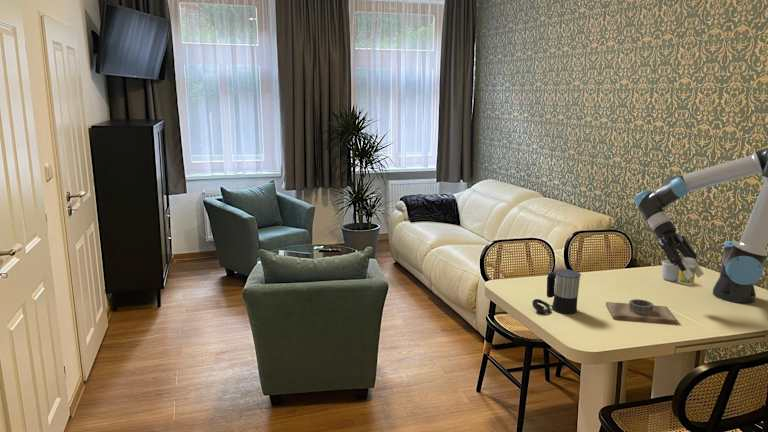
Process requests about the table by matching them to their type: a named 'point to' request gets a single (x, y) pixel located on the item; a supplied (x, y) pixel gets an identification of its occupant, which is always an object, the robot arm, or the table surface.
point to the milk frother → (561, 292)
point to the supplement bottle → (692, 267)
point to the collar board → (641, 312)
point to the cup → (670, 271)
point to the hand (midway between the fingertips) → (695, 276)
